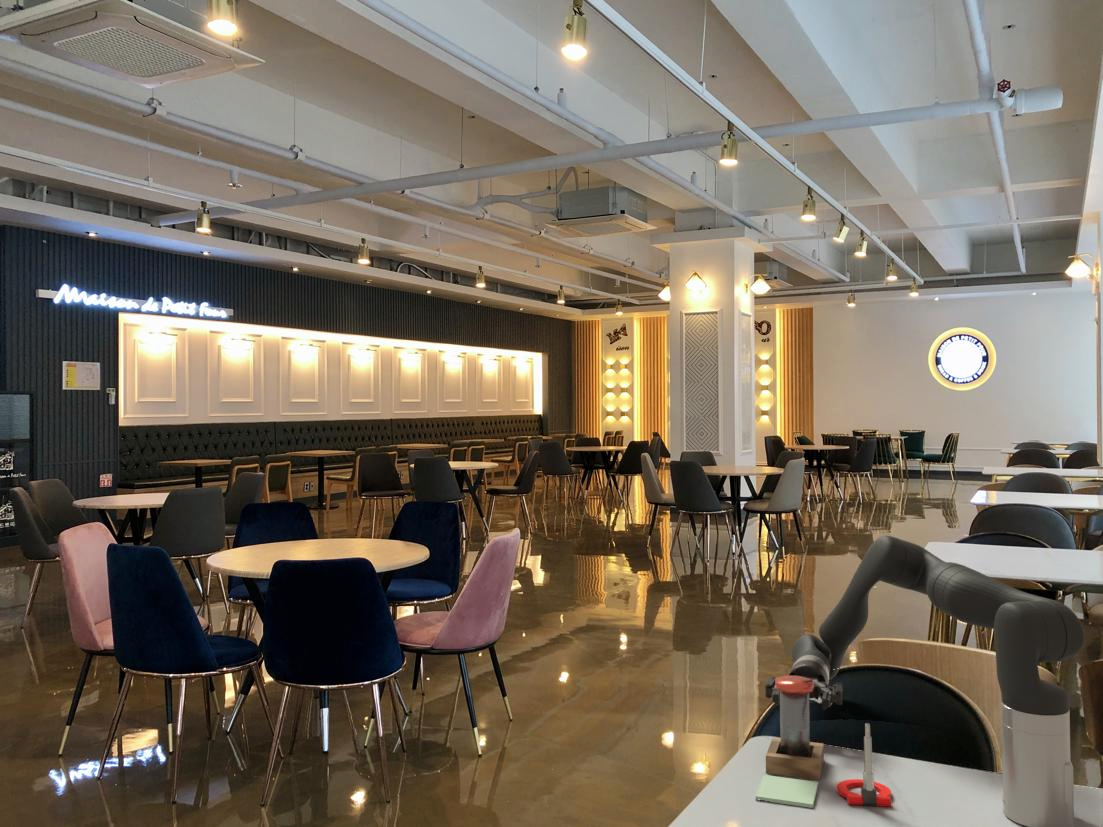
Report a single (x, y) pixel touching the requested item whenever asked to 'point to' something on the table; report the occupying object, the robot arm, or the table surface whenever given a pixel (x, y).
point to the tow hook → (866, 782)
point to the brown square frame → (795, 761)
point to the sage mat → (787, 791)
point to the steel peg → (794, 714)
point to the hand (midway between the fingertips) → (800, 702)
